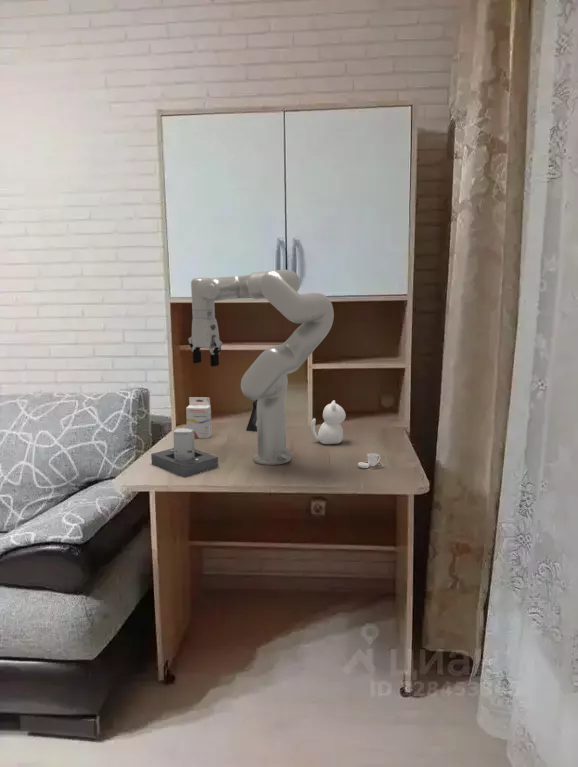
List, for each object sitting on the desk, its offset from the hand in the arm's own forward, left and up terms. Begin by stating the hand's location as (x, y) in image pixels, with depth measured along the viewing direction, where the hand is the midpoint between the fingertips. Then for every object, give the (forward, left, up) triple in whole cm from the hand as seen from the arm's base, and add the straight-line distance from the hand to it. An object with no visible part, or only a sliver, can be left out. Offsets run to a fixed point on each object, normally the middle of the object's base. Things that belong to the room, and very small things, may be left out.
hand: (205, 364), depth 234 cm
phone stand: (+6, -29, -30) cm, 42 cm away
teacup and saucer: (-51, -24, -31) cm, 64 cm away
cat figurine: (-26, -34, -30) cm, 52 cm away
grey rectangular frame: (-10, +17, -30) cm, 36 cm away
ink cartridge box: (+15, -7, -30) cm, 35 cm away
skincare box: (-10, +17, -30) cm, 36 cm away
